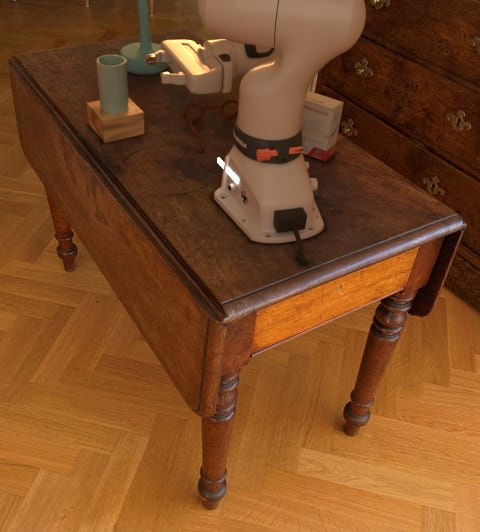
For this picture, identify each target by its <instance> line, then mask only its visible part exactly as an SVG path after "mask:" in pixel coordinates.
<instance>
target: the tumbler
mask: <svg viewBox="0 0 480 532" xmlns="http://www.w3.org/2000/svg"><path fill="white" fill-rule="evenodd" d="M95 68H96V69H95V70H96V79H97V90H98V100H99V101H100V108H101V110H102V111H104V112H107V113H122V112H125V111H127V110H128V108H129V99H130V93H129V77H128V71H127V61H126V58H124V57H123V56H120V54H112V53H111V54H109V53H108V54H102V55H100V56H98V57H96V59H95Z"/></svg>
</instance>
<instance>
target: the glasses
mask: <svg viewBox="0 0 480 532" xmlns="http://www.w3.org/2000/svg"><path fill="white" fill-rule="evenodd" d="M233 103H234V104H237V105H238V103H239V100H237V99H228V100H226V101H224V102H223V103H222V104H221V105H219V104H214V105H206V106H204V105H203V104H201V103H199V102H192V103H189V104H187V105H186V106H185V107H184V109H183V112H182V116H183V118H184V120H185V121H187V122H188V124H189V127H190V130H191V131H192V133H193V134H194V136H195V139H196V144H197V148H198V150H199V153H200V152H202V147H201V143H200V140H199V136H198V133H197V131H196V129H195V127H194V125H193V122H194V123H195V122H198V121H200V120H201V119H202V118H203V117H204V114H205V111H206V110H211V109H212V110H214V109H220V114H221V116H222V117H223V118H225V119H233V118H235V117H238V109H237V110H236V111H235V112H234V113H233V114H225V113H224V108H225V107H226V106H227V105H229V104H233ZM192 107H193V108H194V107H199V108H200V109H201V113H200V114H199V115H198V117H195V118H190V115H189V113H188V110H189V109H190V108H192Z"/></svg>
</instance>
